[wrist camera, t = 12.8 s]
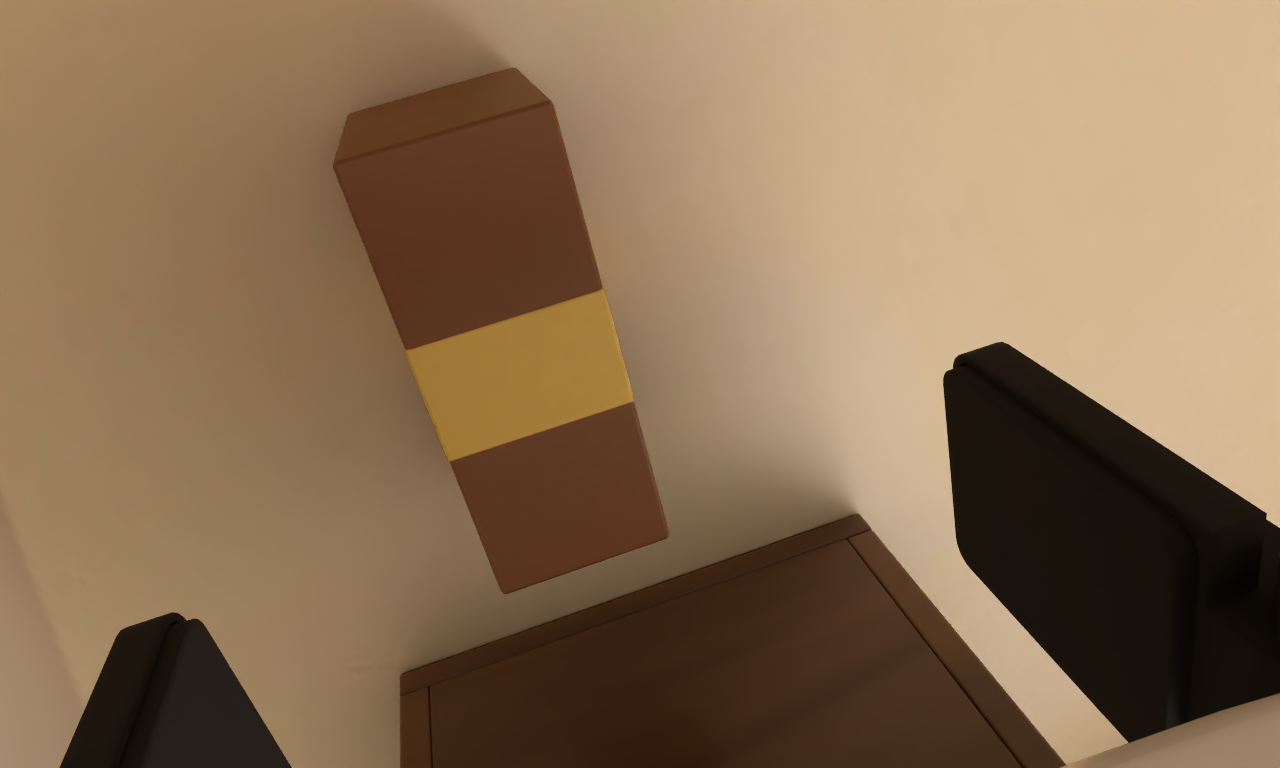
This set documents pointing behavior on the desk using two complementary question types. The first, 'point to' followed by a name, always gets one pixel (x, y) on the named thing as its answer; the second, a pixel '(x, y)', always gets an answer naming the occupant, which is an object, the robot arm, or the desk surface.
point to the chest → (731, 677)
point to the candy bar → (504, 321)
